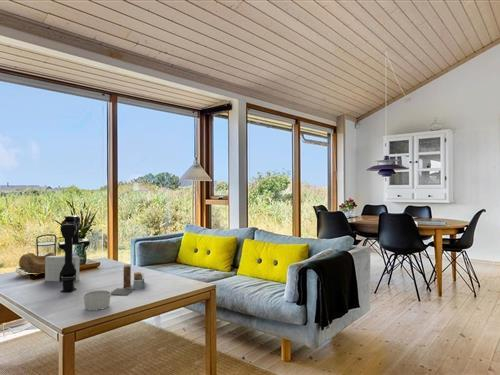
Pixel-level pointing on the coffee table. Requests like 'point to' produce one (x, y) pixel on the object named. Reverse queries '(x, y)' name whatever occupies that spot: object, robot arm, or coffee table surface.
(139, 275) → the upper oak offcut
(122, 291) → the charcoal mat
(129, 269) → the brown wooden block
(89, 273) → the coffee table surface
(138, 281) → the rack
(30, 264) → the rough brown rock
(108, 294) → the ramekin
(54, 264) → the skincare box
